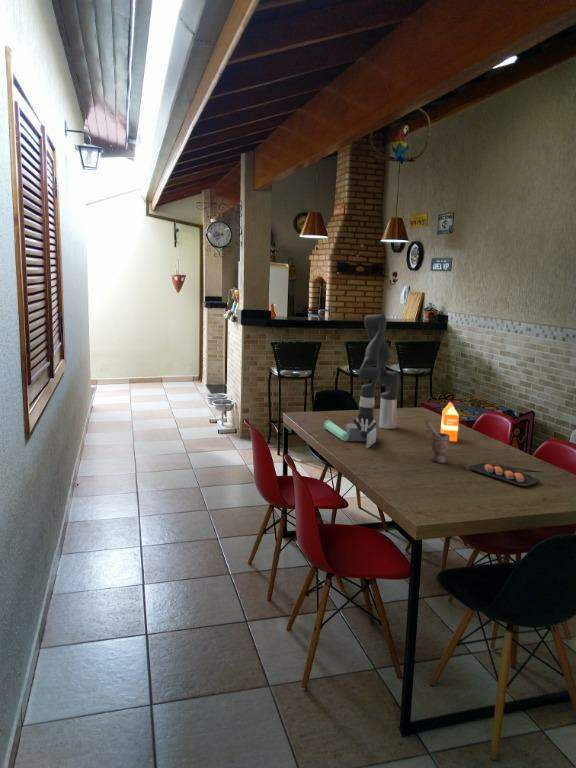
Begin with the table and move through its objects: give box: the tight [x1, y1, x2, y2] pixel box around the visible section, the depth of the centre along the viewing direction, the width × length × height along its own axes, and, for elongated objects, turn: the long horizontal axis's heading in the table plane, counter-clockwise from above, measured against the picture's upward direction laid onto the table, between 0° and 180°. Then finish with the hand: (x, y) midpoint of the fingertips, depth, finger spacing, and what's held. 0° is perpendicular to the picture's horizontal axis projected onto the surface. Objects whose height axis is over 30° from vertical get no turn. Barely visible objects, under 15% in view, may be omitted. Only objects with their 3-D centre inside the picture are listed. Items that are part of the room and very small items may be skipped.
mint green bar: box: [323, 420, 349, 442], centre depth 314 cm, size 6×6×25 cm
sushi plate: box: [468, 462, 543, 487], centre depth 261 cm, size 29×30×4 cm
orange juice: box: [439, 401, 460, 442], centre depth 314 cm, size 8×9×20 cm
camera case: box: [345, 423, 376, 442], centre depth 309 cm, size 14×10×8 cm
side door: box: [366, 427, 378, 449], centre depth 298 cm, size 14×2×7 cm, turn 156°
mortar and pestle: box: [424, 418, 450, 464], centre depth 274 cm, size 12×9×20 cm
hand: (364, 438), depth 295 cm, fingers closed
